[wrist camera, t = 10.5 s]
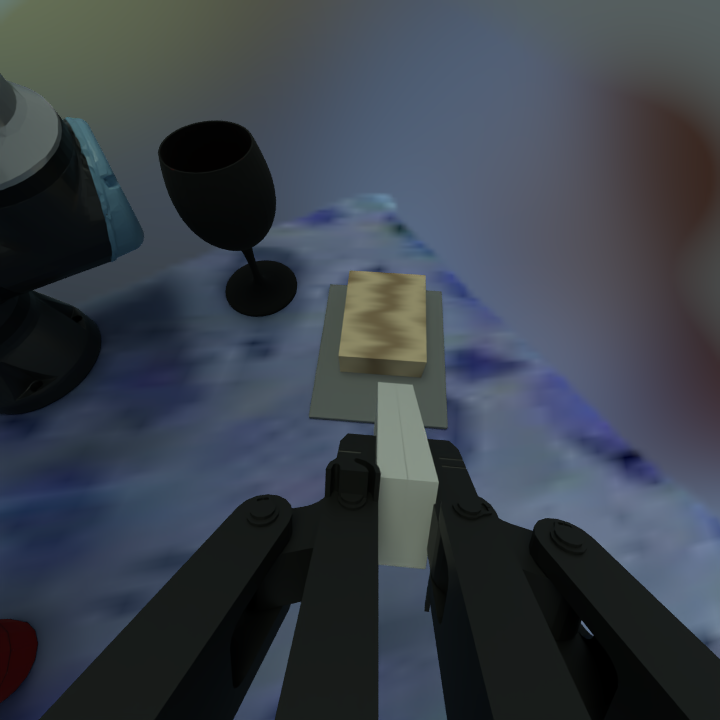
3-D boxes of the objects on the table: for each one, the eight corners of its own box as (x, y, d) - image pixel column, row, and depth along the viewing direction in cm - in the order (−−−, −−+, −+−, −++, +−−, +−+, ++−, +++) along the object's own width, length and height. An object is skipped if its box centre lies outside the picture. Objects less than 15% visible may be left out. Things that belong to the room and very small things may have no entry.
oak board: (338, 355, 38) (349, 270, 44) (340, 371, 41) (350, 290, 47) (426, 362, 37) (425, 275, 44) (420, 377, 41) (420, 295, 47)
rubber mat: (309, 418, 39) (308, 416, 38) (330, 287, 48) (330, 284, 48) (446, 429, 38) (447, 427, 38) (440, 294, 48) (441, 291, 47)
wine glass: (293, 317, 46) (253, 179, 28) (219, 317, 46) (132, 179, 28) (300, 262, 51) (269, 115, 33) (233, 261, 51) (166, 115, 33)
